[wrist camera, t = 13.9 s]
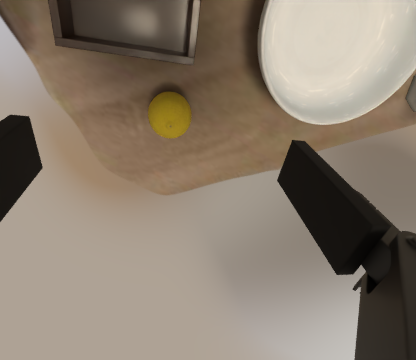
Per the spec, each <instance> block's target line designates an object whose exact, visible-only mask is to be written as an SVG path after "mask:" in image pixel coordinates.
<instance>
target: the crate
mask: <svg viewBox="0 0 416 360" xmlns="http://www.w3.org/2000/svg"><path fill="white" fill-rule="evenodd" d="M48 3H49V9H50V15H51V21H52V27H53V33H54V39H55V45H56V46H63V47H69V48H76V49H83V50H90V51H97V52H104V53H111V54H118V55H125V56H132V57H139V58H146V59H152V60H159V61H166V62H173V63H180V64H187V65H194V57H195V49H196V40H197V31H198V22H199V13H200V4H201V0H48Z"/></svg>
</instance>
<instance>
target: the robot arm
mask: <svg viewBox="0 0 416 360" xmlns="http://www.w3.org/2000/svg"><path fill="white" fill-rule="evenodd" d="M41 169H42V163H41V160H40V156H39V152H38V148H37V145H36V141H35V137H34V133H33V129H32V125H31V122H30V118H29V116H18V115H9V116H7V117H6V118H5V119H3V120H1V121H0V222H1V220H2V219H3V218H4V217H5V215H6V214H7V213H8V211H9V210H10V209H11V208H12V206H13V205H14V204H15V203H16V201H17V200H18V198H19V197H20V196H21V195H22V193H23V192H24V191H25V190H26V188H27V187H28V186H29V184H30V183H31V182H32V181H33V179H34V178H35V177H36V176H37V174H38V173H39V172H40V170H41ZM277 181H278V182H279V184H280V186H281V187H282V189H283V190H284V192H285V194H286V195H287V197H288V198H289V200H290V202H291V203H292V205H293V206H294V208H295V209H296V211H297V213H298V214H299V216H300V217H301V219H302V220H303V222H304V224H305V225H306V227H307V228H308V230H309V232H310V233H311V235H312V236H313V238H314V240H315V241H316V243H317V244H318V246H319V247H320V249H321V251H322V252H323V254H324V255H325V257H326V258H327V260H328V262H329V263H330V265H331V266H332V268H333V270H334V271H335V273H336V274H337V275H348V274H354V273H355V271H356V270H357V269H358V268H359V266H360V265H362V266H363V268H364V269H365V270H366V273H365V274H364V275H363V276H362V277H361V278H360V280H359V281H358V282H357V283H356V285H355V286H354V288H353V290H355V291H356V290H357V289H358V287H361V292H360V305H359V316H358V328H357V338H356V349H355V360H416V234H415V233H412V232H408V231H402V232H400V231H399V230H398V229H397V228H396V227H395V226H394V225H393V224H392V223H391V222H390V221H389V220H388V219H387V218H386V217H385V216H384V215H383V214H382V213H381V212H380V211H379V210H376V208H375V207H374V206H373V205H372V204H371V203H369V201H368V200H367V199H366V198H365V197H364V196H363V195H362V194H360V193H359V192H358V191H356V190H354V189H353V188H352V187H351V186H350V185H349V184H348V183H347V182H346V181H345V180H344V179H343V178H342V177H341V176H340V175H339V174H338V173H337V172H336V171H335V170H334V169H333V168H332V167H330V165H328V164H327V163H326V162H325V161H324V160H323V159H322V158H321V157H320V156H319V155H318V154H317V153H316V152H315V151H314V150H313V149H312V148H311V147H310V146H309V145H308V144H307V143H306V142H305V141H297V140H292V142H291V145H290V148H289V150H288V153H287V156H286V158H285V161H284V163H283V166H282V169H281V171H280V174H279V177H278V180H277Z"/></svg>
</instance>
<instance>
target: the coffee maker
mask: <svg viewBox="0 0 416 360" xmlns="http://www.w3.org/2000/svg"><path fill="white" fill-rule="evenodd" d="M406 100H407V102H408V103H409V105H410V107H411V108H412V110H413V111H414V112H416V75H415V76H414V78H413V81H412V83H411V86H410V88H409V91H408V94H407V96H406Z"/></svg>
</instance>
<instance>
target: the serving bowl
mask: <svg viewBox="0 0 416 360" xmlns="http://www.w3.org/2000/svg"><path fill="white" fill-rule="evenodd" d="M258 58H259V65H260V69H261V73H262V76H263V79H264V82H265V84H266V86H267V88H268V90H269V92H270V94H271V95H272V97H273V98H274V100H275V101H276V102H277V104H278V105H279V106H280V107H281V108H282V109H283V110H284V111H285V112H287V113H288V114H289V115H291V116H292V117H294V118H296V119H298V120H300V121H303V122H306V123H310V124H317V125H330V124H337V123H342V122H346V121H349V120H352V119H354V118H357V117H359V116H361V115H363V114H365V113H367V112H369V111H371V110H372V109H374V108H376V107H377V106H379V105H380V104H381V103H383V102H384V101H385V100H386V99H388V98H389V97H390V96H391V95H392V94H393V93H394V92H396V91H397V90H398V89H399V88H400V87H401V86H402V85H403V84H404V83H405V81H406V80H407V79H408V78H409V77H410V76H411V74H412V73H413V72H414V71H415V69H416V0H266V1H265V4H264V7H263V11H262V14H261V19H260V24H259V31H258Z"/></svg>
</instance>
